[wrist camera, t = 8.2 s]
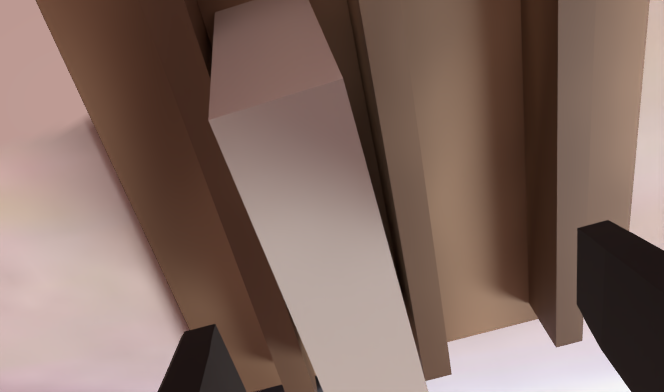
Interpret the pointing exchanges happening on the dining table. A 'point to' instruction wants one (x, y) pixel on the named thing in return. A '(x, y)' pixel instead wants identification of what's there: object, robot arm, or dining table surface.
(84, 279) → the dining table surface
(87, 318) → the dining table surface
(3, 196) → the dining table surface
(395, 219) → the rack
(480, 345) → the dining table surface
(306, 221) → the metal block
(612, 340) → the robot arm
